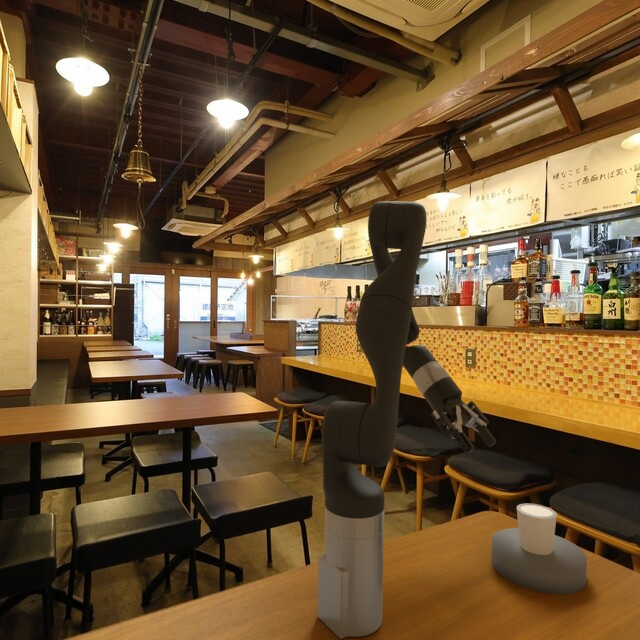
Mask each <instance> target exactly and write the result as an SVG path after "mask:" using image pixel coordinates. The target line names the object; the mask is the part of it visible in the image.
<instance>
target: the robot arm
mask: <svg viewBox="0 0 640 640" xmlns="http://www.w3.org/2000/svg"><path fill="white" fill-rule="evenodd" d="M427 217H428V216H427V212H426V208H425V206H424V205H423V204H422V203H420V202H416V201H387V200H386V201H377V202H374V203H373V204H372V205H371V207H370V210H369V213H368V220H367V233H368V235H367V236H368V241H369V246H370V250H371V254H372V255H371V256H372V259H373V263H374V267H375V271H376V275H377V276H376V278H375V279H374V280H373V281H372V282H370V283H369V285H368V286H367V287H366V289H365V290H364V292H363V293H362V296H361V297H360V301H359V302H360V303H359V308H358V311H357V316H356V322H355V335H356V338H357V340H358V344H359V345H360V347H361V350H362V351H363V354H364V356H365V358H366V360H367V362H368V364H369V366H370V369H371V371H372V375H373V377H374V381H375V400H374V403H369V402H360V401H359V402H358V401H348V400H335V401H333V402H331V403H330V404H329V405H328V406H327V407H326V411H325V413H324V415H323V420H322V424H321V425H322V426H321V452H322V453H321V455H322V487H323V488H322V489H323V493H324V530H323V533H324V534H323V537H324V538H323V553H321V554H320V555H318V561H317V562H318V565H317V566H318V567H317V571H318V572H317V573H318V574H317V615H316V616H317V618H318V619H319V620H321V622H323V623H324V625H326V626H327V627H328V629H330V630H331V631H332V632H333V633H334V634H335V635H336V636H337V637H338V638H339V639H340V640H342V639H344V638H347V637H353V638H356V637H357V638H358V637H359V638H360V637H365V636H369V635H371V634H373V633H375V632H376V631H377V630H379V628H380V627H381V626H382V623H383V608H384V607H383V603H384V602H383V599H384V598H383V597H384V593H383V592H384V551H385V550H384V548H385V547H384V545H385V543H384V542H385V541H384V540H385V539H384V538H385V502H386V500H385V492H384V489H383V487H381V485H379V483H378V482H376V481H374V480H372V479H371V478H369V477H368V476H366V475H364V474H363V473H362V472H361V471H359V469H357V467H356V466H355V465H363V466H368V467H377V468H383V467H385V466H387V465H389V462H390V461H391V459H392V457H393V454H394V450H395V446H396V445H395V444H396V439H397V438H396V437H397V430H398V429H397V428H398V419H399V418H398V417H399V405H400V392H401V381H402V372H403V368H404V369H405V370H406V372H407V373H408V375H409V376H410V377H411V379H412V380H413V382H414V384H415V386H416V387H417V389H418V391H419V393H421V395H422V396H423V398H424V399H425V401H426V402H427V403H428V404H429V406H430V408H431V410H432V413H430V416H431V418H432V419H433V420H434V422H435V424H436V425H437V427H438V429H439V430H440V431H441V433H442V435H443V436H444V437H445V438H449V437H451V439H453V440H455V441H456V443H457V444H458V446H459V447H460V448H461V451H463V452H464V453H465V454H470V453H472V451H474V450H475V446H474V444H473V443H472V441H471V440H470V439H469V437H468V435H466V433H465V432H463V428H462V426H465V427H467V428H471V429H472V430H474V431H475V432H477V435H478V436H479V437H480V439H481V440H482V441H483V442H484V444H485V446H487V448H489V447H492V446H493V445H495V444H496V443H497V440H496V438H495V437H494V436H493V434H492V433H491V432H490V431H489V429H488V428H487V425H488V424H489V423H490V421H489V419H488V418H487V417H486V416H485V414H484V413H483V412H482V411H481V409H480V408H479V407H478V405H476V404H475V403H476V402H474V401H472V400H470V401H469V402H468V403H465V402H464V401H463V400H462V396H463V391H462V390H461V389H460V387H459V386H458V385H457V383H456V382H455V381H454V379H453V378H452V377H451V375H450V374H449V372H448V371H447V370H446V369H445V368H444V367H443V366H442V365H441V364H440V363H439V362H438V360H437V359H436V358H435V356H433V354H432V352H431V351H430V350H429V349H428V348H427V346H425V345H423V344H417V345H411V346H409V344H411V343H413V342H415V341H416V340H417V339H418V337H419V335H420V327H419V324H418V322H417V320H416V317H415V315H414V311H413V302H414V293H415V285H416V279H417V271H418V267H419V261H420V257H421V253H422V249H423V244H424V239H425V235H426V229H427ZM390 249H391V250H399V253H398V255H397V256H396V257H395V259H393V257H392V256H391V253H390V251H389V250H390ZM407 345H408V346H407ZM479 417H480V418H479ZM445 425H446V427H445ZM354 464H355V465H354Z"/></svg>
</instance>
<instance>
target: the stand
mask: <svg viewBox="0 0 640 640" xmlns="http://www.w3.org/2000/svg"><path fill="white" fill-rule="evenodd" d="M587 560H588V558H587V555H586V553H585V551H583V550H582V549H581V548H580V547H579V546H578V545H576V544H575V543H573V542H572V541H569V540H567V539H565V538H564V537H561V536H558V535H556V534H554V542H553V550H552V553H551V554H548V555H538V554H534V553H530V552H528V551H526V550H524V549H523V548H521V546H520V545H519V532H518V527H509V528H505V529H499V531H497V532H495V533H494V534H493V535H492V538H491V563H492V566H493V568H494V569H495V571H497V572H498V574H500V575H501V576H502V577H504V578H505V580H506V579H507V580H508V581H509V582H512V584H513V583H514V584H515V585H517V586H519V587H522V588H525V589H528V590H531V591H534V592H538V593H542V594H550V595H562V596H563V595H573V594H576V593H579V592H581V591H582V590H584V589H585V587H586V585H587V576H588V575H587V573H588V572H587V571H588V570H587V569H588V568H587V567H588V566H587V565H588V561H587Z"/></svg>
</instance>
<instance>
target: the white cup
mask: <svg viewBox="0 0 640 640" xmlns="http://www.w3.org/2000/svg"><path fill="white" fill-rule="evenodd" d="M516 514H517V515H516V517H517V519H516V520H517V528H518V532H519V545H520V546H521V548H523V549H524V550H526V551H528V552H530V553H534V554H538V555H548V554H551V553H552V550H553V542H554V535H556V534H555V533H556V524H557V514H558V513H557V512H556V511H555V510H553V509H552V508H550V507H547V506H544V505H542V504H537V503H519V504H518V505H516Z"/></svg>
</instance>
